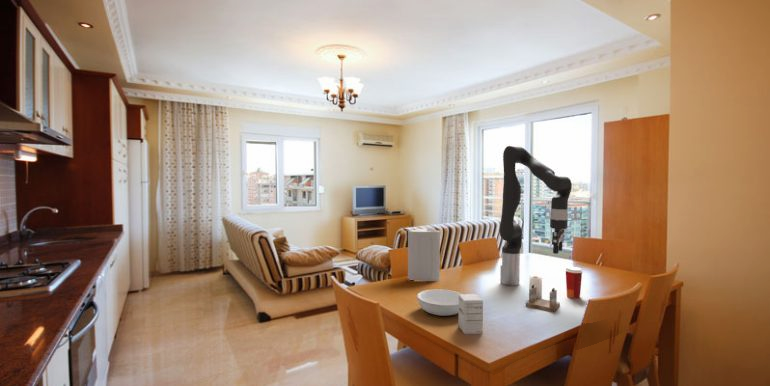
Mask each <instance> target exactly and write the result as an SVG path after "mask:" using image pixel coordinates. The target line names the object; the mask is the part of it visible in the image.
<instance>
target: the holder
mask: <svg viewBox="0 0 770 386" xmlns="http://www.w3.org/2000/svg"><path fill="white" fill-rule="evenodd" d="M536 289H537V287H536V286H534V285H532V287H531V288H530V289H529V288H528V291H529V292H528V300H527V301H526V302H525V307H528V308H534V309H538V310H542V311H548V312H553V313H555V312H556V311H557V309H559V307H560V306H561V303H560V301H557V300H558V299H557V298H558V297H557V294H558V292H557V291H558V290H557V289H555V287H553V288H552V289H551V291H550V292H549V300H548V299H539V298H536Z"/></svg>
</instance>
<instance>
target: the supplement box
mask: <svg viewBox="0 0 770 386" xmlns="http://www.w3.org/2000/svg"><path fill="white" fill-rule="evenodd" d="M483 326H484V300H483V299H482V298H481V297H480V296H479V295H478V294H476V293H471V294H468V293H466V294H463V295H459V313H458V327H459V328H460V330H461V331H462V333H463V334H464V335H473V334H474V335H475V334H477V335H478V334H483V331H484V330H483V329H484V327H483Z"/></svg>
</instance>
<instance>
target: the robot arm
mask: <svg viewBox="0 0 770 386" xmlns="http://www.w3.org/2000/svg"><path fill="white" fill-rule="evenodd" d="M502 161H503V163H502V164H503V165H502V166H503V184H502V185H503V187H502V207H501V216H500V223H499V236H500V238H501V239H502V240H503V241H505V243H504V245H503V246H502V247H501V265H500V279H499V281H500V284H503V285H505V286H512V287H513V286H514V287H515V286H519V285H520V275H521V271H520V270H521V269H520V265H521V264H520V261H521V260H520V259H521V258H520V257H521V249H522V243H523V229H522V227H521V225H520V224H519V223H516V222H515V214H516V211H517V209H518V207H519V205H520V202H521V198H522V195H521V194H522V186H521V183H520V181H519V179H518V176H517V173H516V164H520V165H523V166H525V167H526V168H527V169H528V170H529V171H530V173H531V174H532V175H533V176H534V177H536V178H537V179H539V180H540V181H542V182H543V183H544V185H545V186H546V187H547V188H549V189H550V190H551V191H553V192H556V195H554V196H553V197H551V203H550V204H551V207H550V208H551V209H550V216H549V217H550V218H549V220H550V222H549V227H550V228H551V229H553V230H554V231H552V233H551V234H552V235H551V245H552V254H555V255H556V254H559V251H560V252H562V251H563V243H564V241H565V230H567V229H568V225H569V224H568V222H569V221H568V220H569V218H568V217H569V213H568V206H569V198H570V195H571V192H572V188H573V187H572V185H573V184H572V181H571V178H569V177H567V176H558V175H555V174H556V173H555V171H554V170H553V169H551V168H550V167H549V166H547V165H545V164H543V163H542V162H540V161H539V160H538V159H537V158H535V157H534V156H533V155H532V154H531V153H530V152H529V151H528V150H527V149H525V148H524V147H523V146H520V145H508V146H506V147H505V148H504V150H503V153H502Z"/></svg>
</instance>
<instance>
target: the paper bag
mask: <svg viewBox="0 0 770 386" xmlns="http://www.w3.org/2000/svg"><path fill="white" fill-rule="evenodd" d="M440 235H441V231H440V230H437V229H435V228H431V227H424V228H418V229H412V230H411V229H410V230H408V231H407V280H408V279H409V280H408V281H410V280H420V281H419V282H426V281H437V282H439V281H438V280H440V276H441V275H440V272H441V271H440V270H441V269H440V268H441V267H440V266H441V264H440V259H441V251H440V249H441V246H440V245H441V243H440V242H441V241H440V240H441V236H440ZM421 280H422V281H421Z"/></svg>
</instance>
